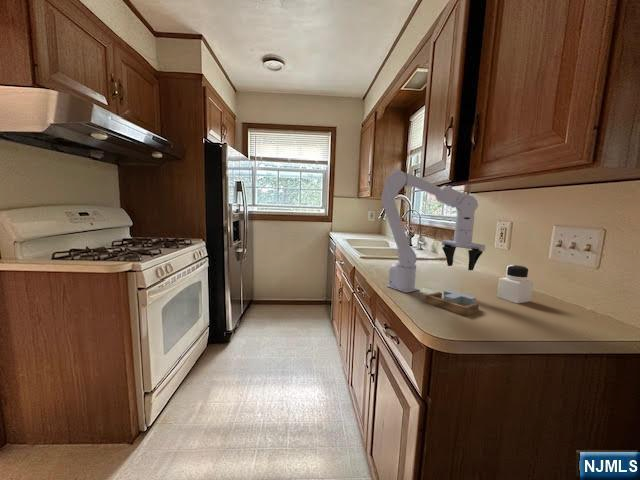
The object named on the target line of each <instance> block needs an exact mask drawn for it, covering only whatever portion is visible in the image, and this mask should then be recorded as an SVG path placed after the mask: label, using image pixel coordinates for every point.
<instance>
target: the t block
mask: <svg viewBox="0 0 640 480" xmlns="http://www.w3.org/2000/svg"><path fill="white" fill-rule="evenodd" d="M442 297H443V298H442V299H444V300H447V301H450V302H453V303H456V304H459V305H462V306H467V305H470V304H473V303H477V297H476V296H472V295H468V294H466V293H462V292H458V291H454V290H452V289H447V290H443V296H442Z"/></svg>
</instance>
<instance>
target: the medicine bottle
mask: <svg viewBox="0 0 640 480" xmlns="http://www.w3.org/2000/svg"><path fill="white" fill-rule="evenodd" d="M505 272H506V273H505V276H506V277H500V278H499V279H498V287H497V295H496V296H497V298H498V299H502V300H505V301H508V302H511V303H514V304H524V303H529V302H532V301H531V300H532V295H533V294H532V293H533V286H534V282H533V281H531V280H528V274H529V269H528V268H527V267H526V266H523V265H517V264H510V265H507V266H506V271H505Z"/></svg>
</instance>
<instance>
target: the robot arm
mask: <svg viewBox="0 0 640 480" xmlns="http://www.w3.org/2000/svg"><path fill="white" fill-rule="evenodd" d="M404 187H405V188H406V189H408V188H416V189H417V190H421V191H423V192H425V193H428V194H430V195H434V197H435V200H436V201H437V202H440V203H442V204H445V205H446V206H449V207H450V208H455V209H456V216H455V226H454V235H453V240H449V239H442V240H441V246H442V250H443V252H444V256H445V258H446V263H447V266H448V267H452V266H453V264H454V256H455V252H456V248H460V249H461V248H462V249H467V250H468V266H467V267H468V268H467V270H468V271H474V269H475V266H476V264H477V261H478V260H479V258H480V257H481V256H482V254H483V252H484V251H486V244H480V243H476V242H475V243H474V242H473V232H474V223H475V212H476V210H477V209H478V208H479V204H478V200H477V198H476V197H474V196H472V195H466V192H464V191H462V192H461V191H459V190H456V189H454V188H453V186H452V185H448V186H447V185H443V186H440V187H439V186H438V185H435V184H433V183H431V182H429V181H427V180H425V179H423V178H421V177H419V176H417V175H415V174H412V173H409V172H404V171H402V170H399V169H397V170H393V171H391V172H390V173H389V175H388V176H387V177H386V179H385V183H384V185H383V190H382V193H381V196H380V200H381V203H382V206H383V208H384V209H383V210H384V212H385V215H386V218H387V222H388V223H389V227H390V230H391V232H392V235H393V239H394V242H395V245H396V248H397V250H398V252H397V256H398V262H396V263H393V264H391V266H390V267H389V271H388V283H387V284H386V287H388V288H391V289H394V290H397V291H400V292H403V293H407V294H408V293H411V292H414V291H415V292H416V291H419V290H420V288H419V287H417V286H416V277H417V275H416V274H417V264H416V263H417V260H418V258H417V257H418V256H417V254H416V252H415V250H414V249H413V248H412V247H411V246H410V243H409V239H408V237H407V234H406V230H405V227H404V225H403V222H402V219H401V217H400V216H401V215H400V213H399V210H398V208H397V204H396V201H395V199H396V197H397V195H398V194H399V193H398V192H400V191H401V190H402V189H403V188H404Z"/></svg>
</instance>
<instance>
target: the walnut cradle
mask: <svg viewBox="0 0 640 480" xmlns="http://www.w3.org/2000/svg"><path fill="white" fill-rule="evenodd" d="M442 297H443V293H442V292H440V291H438V292H437V291H436V292H433V293H429V294H426V295H425V303H427V304H429V305H432V306H435V307H439V308H441V309H443V310H447V311H450V312H452V313H456V314H459V315H461V316H464V317H468V316H471V315H473V314H475V313H479V309H480V308H479V307H480V304H479V303H477V302H476V303H473V304H470V305H467V306H462V305H459V304H456V303H453V302H450V301H447V300H444V299H443V298H442Z"/></svg>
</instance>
